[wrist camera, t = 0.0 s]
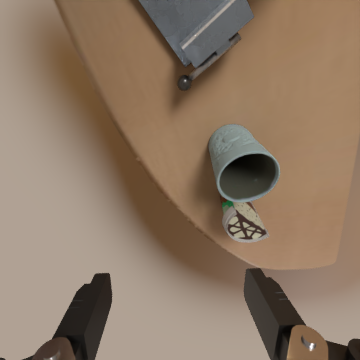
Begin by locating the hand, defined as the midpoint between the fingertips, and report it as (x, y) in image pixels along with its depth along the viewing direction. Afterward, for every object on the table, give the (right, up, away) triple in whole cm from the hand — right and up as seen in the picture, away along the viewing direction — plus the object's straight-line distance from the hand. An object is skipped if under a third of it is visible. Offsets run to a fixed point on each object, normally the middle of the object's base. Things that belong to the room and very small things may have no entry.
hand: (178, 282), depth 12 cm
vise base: (-3, +33, +14) cm, 36 cm away
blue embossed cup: (+10, +13, +30) cm, 35 cm away
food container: (+13, +1, +40) cm, 42 cm away
